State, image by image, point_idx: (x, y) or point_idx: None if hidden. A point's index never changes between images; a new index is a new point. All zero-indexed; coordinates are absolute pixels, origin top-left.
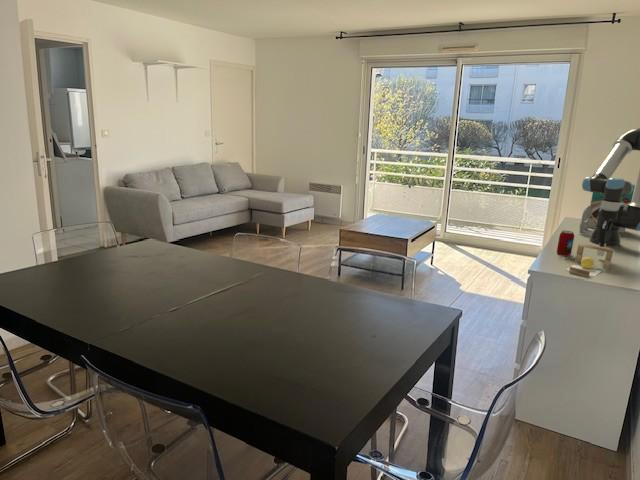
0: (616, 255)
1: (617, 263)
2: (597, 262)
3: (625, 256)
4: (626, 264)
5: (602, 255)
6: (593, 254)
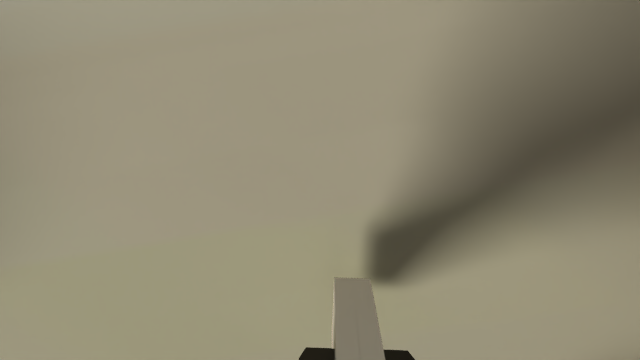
0: (9, 180)
1: (390, 105)
2: (518, 271)
3: None
4: (350, 9)
5: (371, 289)
6: (206, 353)
